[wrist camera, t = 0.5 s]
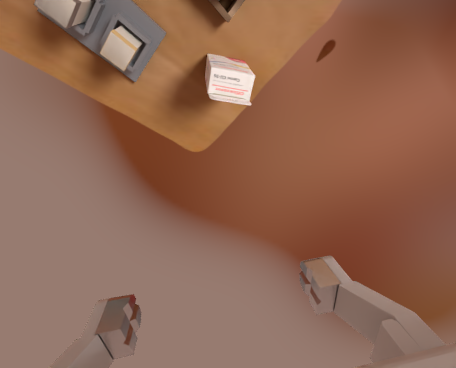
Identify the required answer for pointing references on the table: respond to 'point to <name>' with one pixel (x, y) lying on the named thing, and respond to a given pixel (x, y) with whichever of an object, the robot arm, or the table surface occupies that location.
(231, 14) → the dice corral
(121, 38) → the block
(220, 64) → the ink cartridge box
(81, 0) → the block
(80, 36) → the block
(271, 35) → the table surface
